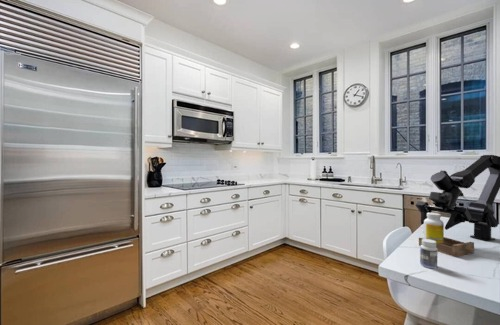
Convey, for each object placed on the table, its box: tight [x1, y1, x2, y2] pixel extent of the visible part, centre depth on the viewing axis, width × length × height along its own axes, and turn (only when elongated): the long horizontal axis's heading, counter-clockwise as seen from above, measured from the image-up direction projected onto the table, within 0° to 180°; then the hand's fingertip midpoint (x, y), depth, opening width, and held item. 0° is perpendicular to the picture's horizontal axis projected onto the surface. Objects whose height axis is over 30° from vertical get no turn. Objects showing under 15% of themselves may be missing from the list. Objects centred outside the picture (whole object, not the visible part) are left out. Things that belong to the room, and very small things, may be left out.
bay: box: [418, 236, 475, 258], centre depth 101 cm, size 11×14×4 cm
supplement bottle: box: [423, 212, 445, 244], centre depth 105 cm, size 7×7×13 cm
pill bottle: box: [419, 238, 439, 269], centre depth 85 cm, size 5×5×8 cm
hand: (433, 226), depth 105 cm, fingers open, 9 cm apart
